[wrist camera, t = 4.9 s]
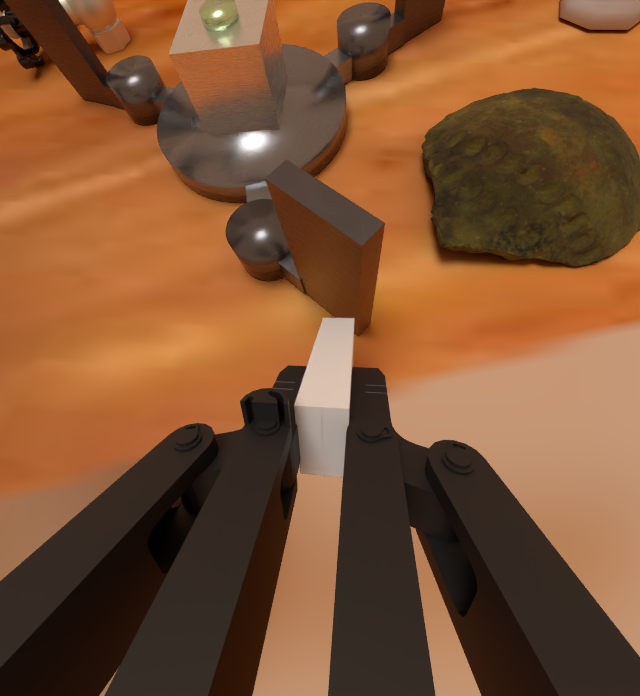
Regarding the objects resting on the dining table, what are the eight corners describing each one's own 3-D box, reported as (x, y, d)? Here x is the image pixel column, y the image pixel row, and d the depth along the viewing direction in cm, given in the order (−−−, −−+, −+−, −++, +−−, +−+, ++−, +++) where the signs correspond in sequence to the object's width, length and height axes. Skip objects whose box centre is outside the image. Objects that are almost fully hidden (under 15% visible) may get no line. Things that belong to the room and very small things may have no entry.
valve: (134, 23, 33) (41, 50, 34) (83, -73, 27) (-30, -38, 27) (132, 56, 31) (33, 84, 32) (76, -39, 25) (-46, -2, 25)
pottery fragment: (598, 110, 22) (655, 35, 18) (648, 271, 17) (738, 221, 13) (416, 122, 24) (429, 56, 19) (420, 270, 19) (438, 226, 15)
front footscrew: (231, 258, 21) (147, 136, 12) (273, 220, 22) (220, 80, 13) (341, 353, 18) (329, 277, 9) (386, 306, 18) (414, 193, 10)
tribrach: (20, 236, 24) (-161, 128, 16) (104, 54, 32) (11, -87, 23) (461, 225, 20) (545, 62, 11) (440, 14, 27) (480, -183, 18)
